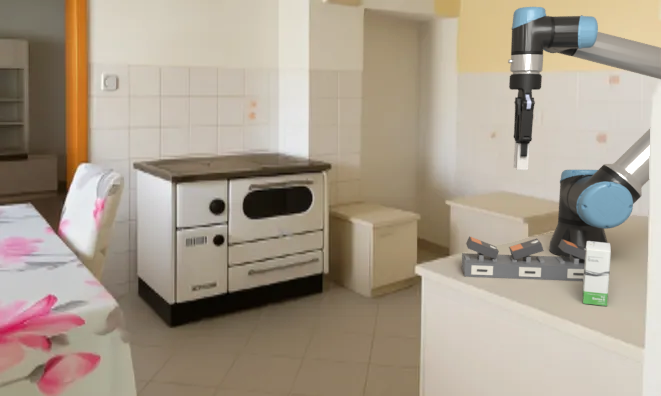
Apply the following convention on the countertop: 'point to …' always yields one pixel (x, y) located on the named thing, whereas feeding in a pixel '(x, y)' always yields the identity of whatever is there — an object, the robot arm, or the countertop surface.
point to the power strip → (524, 267)
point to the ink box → (596, 273)
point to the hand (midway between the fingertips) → (520, 168)
